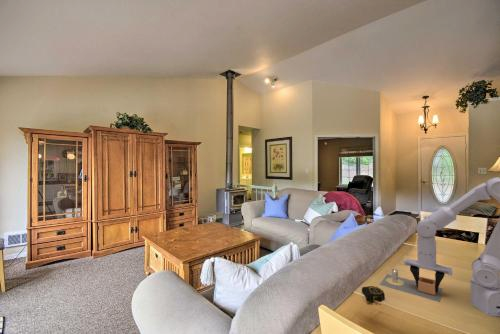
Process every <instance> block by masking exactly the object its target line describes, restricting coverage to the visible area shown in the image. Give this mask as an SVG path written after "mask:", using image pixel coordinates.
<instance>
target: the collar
mask: <svg viewBox="0 0 500 334" xmlns="http://www.w3.org/2000/svg"><path fill="white" fill-rule="evenodd" d="M435 286H436V281H435V279H432V278H427V277H423V276H419V280H418V291H421V292H425V293H428V294H432V295H435V294H436V292H435Z"/></svg>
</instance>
